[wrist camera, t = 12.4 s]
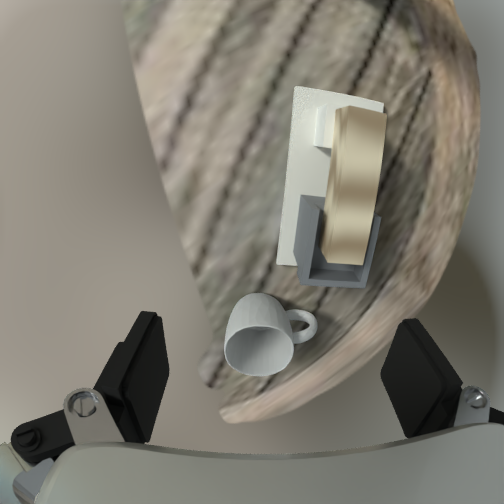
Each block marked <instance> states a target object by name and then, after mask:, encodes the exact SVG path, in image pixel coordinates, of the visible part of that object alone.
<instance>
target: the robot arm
mask: <svg viewBox="0 0 504 504" xmlns="http://www.w3.org/2000/svg"><path fill="white" fill-rule="evenodd" d="M168 377H169V363H168V357H167V351H166V344H165V338H164V330H163V323H162V318H161V317H159V316H157V313H156V312H147V311H141V312H140V314H139V316H138V318H137V319H136V321H135V323H134V325H133V326H132V328H131V330H130V332H129V334H128V335H127V337H126V339H125V341H124V342H119V343H118V344H117V346H116V347H115V349H114V351H113V353H112V355H111V356H110V358H109V360H108V362H107V364H106V366H105V367H104V369H103V371H102V373H101V375H100V377H99V379H98V381H97V382H96V384H95V386H94V388H93V389H90V388H80V389H76V390H74V391H72V392H71V393H70V394H68V395H67V397H66V398H65V400H64V404H63V408H64V409H63V410H60V411H58V412H55V413H52V414H49V415H46V416H44V417H41V418H38V419H35V420H32V421H30V422H26V423H23V424H21V425H19V426H18V427H17V428H16V429H14V431H13V433H12V436H11V442H10V443H9V444H6V442H4V443H2V444H1V445H0V504H34V500H35V496H36V495H37V494H38V493H39V494H38V496H37V499H36V502H35V504H504V412H501V411H498V410H496V409H494V408H491V407H490V398H489V397H488V394H487V393H486V392H485V391H484V390H483V389H481V388H479V387H477V386H467V387H465V388H464V389H463V390H462V388H461V385H462V384H463V382H462V380H461V379H460V378H459V376H458V375H457V373H456V371H455V370H454V369H453V367H452V366H451V365H450V363H449V361H448V360H447V358H446V357H445V356H444V354H443V353H442V351H441V350H440V349H439V347H438V346H437V345H436V343H435V342H434V340H433V339H432V337H431V336H430V335H429V333H428V332H427V331H426V329H425V328H424V327H423V325H422V324H421V323H420V321H419V320H418V319H416V318H414V319H404V320H403V321H402V323H400V324H399V325H398V328H397V331H396V333H395V336H394V339H393V342H392V344H391V347H390V349H389V352H388V355H387V357H386V360H385V362H384V365H383V367H382V369H381V379H382V382H383V384H384V386H385V389H386V391H387V393H388V395H389V397H390V400H391V402H392V405H393V407H394V409H395V412H396V414H397V417H398V419H399V421H400V424H401V426H402V429H403V431H404V434H405V436H406V437H407V438H408V439H404V440H399V441H394V442H389V443H384V444H379V445H372V446H366V447H360V448H352V449H345V450H336V451H326V452H314V453H298V454H234V453H218V452H206V451H194V450H185V449H176V448H169V447H162V446H154V445H146V444H144V443H145V442H147V443H148V442H149V441H150V438H151V434H152V431H153V427H154V424H155V420H156V417H157V413H158V410H159V407H160V403H161V400H162V397H163V393H164V390H165V387H166V383H167V380H168Z"/></svg>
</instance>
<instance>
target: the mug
mask: <svg viewBox="0 0 504 504" xmlns="http://www.w3.org/2000/svg"><path fill="white" fill-rule="evenodd" d="M289 320H300V321H305V322H307V323H309V325H310V326H309V327H308V328H307V329H305V330H302V331H299V332H294V333H293V332H292V329H291V325H290V322H289ZM316 331H317V320H316V318H315V317H314V315H312V314H311V313H309V312H307V311H304V310H298V309H294V310H287V311H285V310H284V308H283V307H282V305H281V304H280V302H279V301H278V300H277V299H275V298H274V297H272V296H270V295H268V294H264V293H252V294H248V295H246V296H245V297H243V298H241V299H240V300H239V301H238V303H237V304H236V305H235V307H234V309H233V311H232V313H231V315H230V319H229V322H228V325H227V329H226V335H225V345H224V353H225V358H226V360H227V362H228V363H229V365H230V366H231V367H232V368H233V369H235V370H237V371H238V372H240V373H243V374H246V375H252V376H267V375H271V374H275V373H277V372H279V371H281V370H283V369H284V368H285V367H286V366H287V365H288V364H289V362H290V361H291V359H292V356H293V353H294V344H296V343H302V342H305V341H307V340H309V339H310V338H312V337H313V336H314V335H315V333H316Z"/></svg>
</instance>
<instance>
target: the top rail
mask: <svg viewBox="0 0 504 504" xmlns="http://www.w3.org/2000/svg"><path fill="white" fill-rule="evenodd" d="M386 119H387V114H385V113H381V112H377V111H373V110H369V109H364V108H360V107H355V106H350V105H349V106H346V107H342V108H339V109H336V111H335V122H334V132H333V141H332V151H331V159H330V168H329V176H328V183H327V191H326V198H325V205H324V212H323V219H322V225H321V232H320V238H319V244H318V246H319V248H320V250H321V251H322V253H323V255H324V257H325V259H326V260H327V262H328V263H340V264H353V265H363V262H364V257H365V253H366V248H367V244H368V239H369V234H370V229H371V224H372V219H373V214H374V208H375V202H376V197H377V191H378V184H379V178H380V171H381V164H382V156H383V148H384V139H385V130H386Z"/></svg>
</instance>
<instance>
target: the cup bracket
mask: <svg viewBox="0 0 504 504" xmlns="http://www.w3.org/2000/svg"><path fill="white" fill-rule="evenodd" d="M349 105H350V106H355V107H360V108H364V109H369V110H373V111H377V112H381V113H383V105H384V103H381V102H377V101H373V100H369V99H364V98H360V97H355V96H351V95H346V94H341V93H336V92H330V91H325V90H319V89H312V88H306V87H299V86H295V87H294V98H293V110H292V121H291V132H290V142H289V152H288V162H287V172H286V182H285V191H284V200H283V209H282V218H281V227H280V235H279V244H278V252H277V260H276V262H277V264H279V265H292V266H298V271H297V275H298V278H299V281H300V285H310V286H328V287H347V288H365V286H366V282H367V279H368V275H369V271H370V267H371V263H372V258H373V254H374V250H375V245H376V241H377V236H378V231H379V226H380V221H381V217H380V216H379V215H377V214H376V213H375V212H374V214H373V219H372V224H371V229H370V234H369V239H368V244H367V248H366V253H365V257H364V262H363V265H353V264H340V263H328V262H327V260H326V259H325V257H324V255H323V253H322V251H321V250H320V248H319V246H318V244H319V238H320V232H321V225H322V219H323V212H324V205H325V198H326V191H327V183H328V176H329V168H330V159H331V151H332V141H333V132H334V122H335V111H336V109H339V108H342V107H346V106H349Z"/></svg>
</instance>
